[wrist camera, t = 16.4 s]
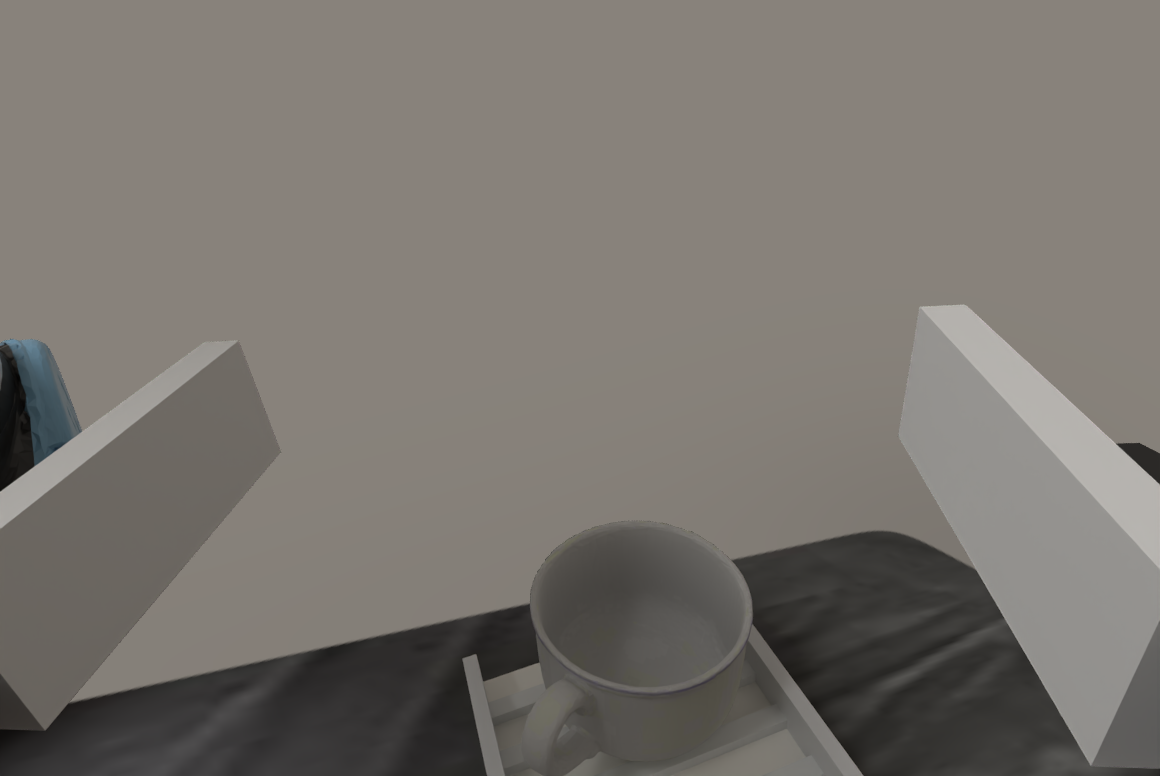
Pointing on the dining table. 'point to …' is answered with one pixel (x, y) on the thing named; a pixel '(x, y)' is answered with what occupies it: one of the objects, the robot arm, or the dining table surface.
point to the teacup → (634, 645)
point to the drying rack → (708, 772)
